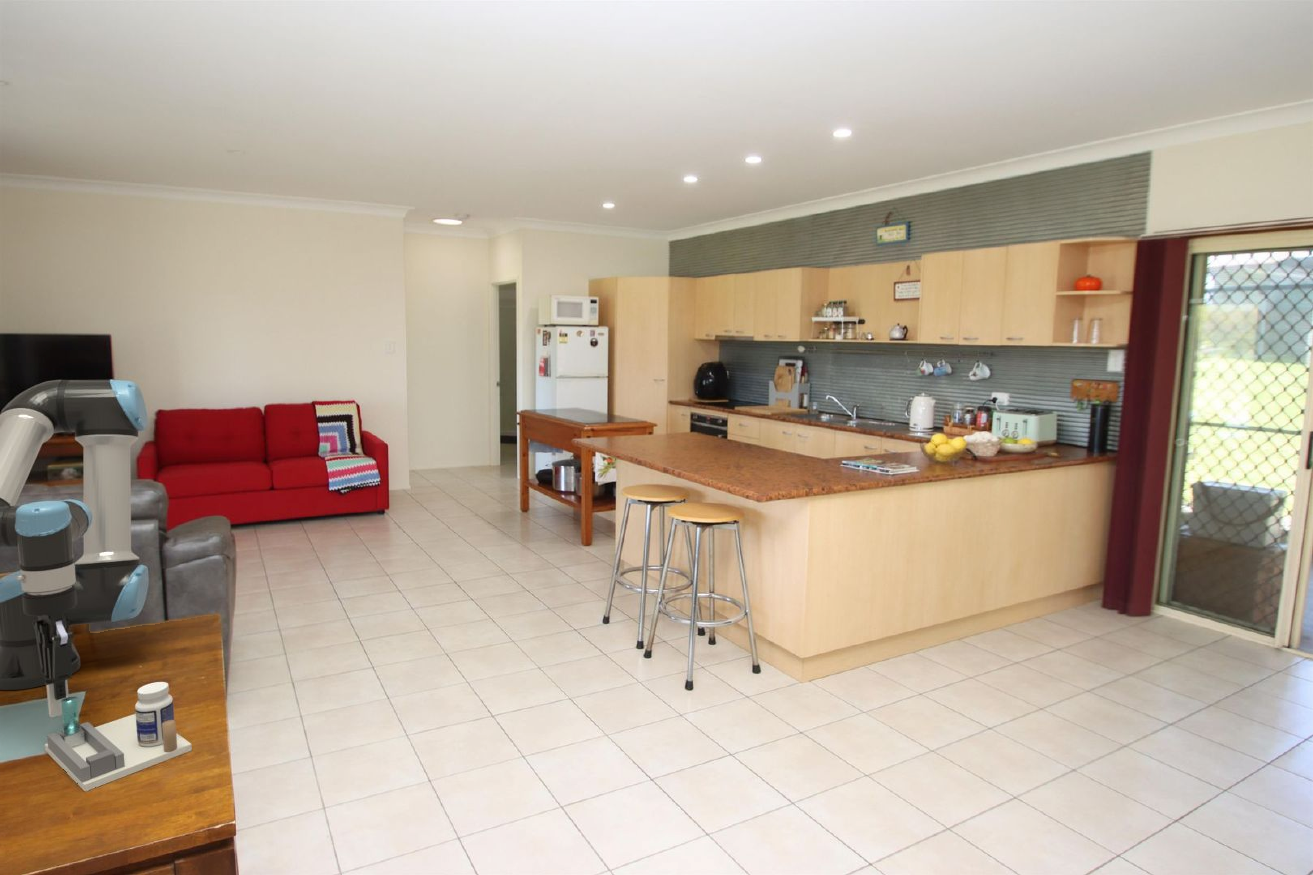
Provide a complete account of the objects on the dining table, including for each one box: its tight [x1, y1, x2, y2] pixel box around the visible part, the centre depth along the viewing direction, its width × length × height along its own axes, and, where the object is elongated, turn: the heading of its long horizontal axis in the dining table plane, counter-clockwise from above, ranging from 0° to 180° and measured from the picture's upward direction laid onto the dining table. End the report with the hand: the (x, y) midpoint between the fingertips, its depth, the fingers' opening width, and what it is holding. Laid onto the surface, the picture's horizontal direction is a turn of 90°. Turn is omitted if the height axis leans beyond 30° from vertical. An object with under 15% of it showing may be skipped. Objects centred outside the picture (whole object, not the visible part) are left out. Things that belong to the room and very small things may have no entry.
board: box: [44, 713, 193, 792], centre depth 134 cm, size 20×16×6 cm
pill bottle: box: [134, 681, 175, 747], centre depth 136 cm, size 6×6×10 cm
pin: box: [58, 696, 85, 748], centre depth 134 cm, size 3×3×8 cm
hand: (59, 713), depth 137 cm, fingers closed
